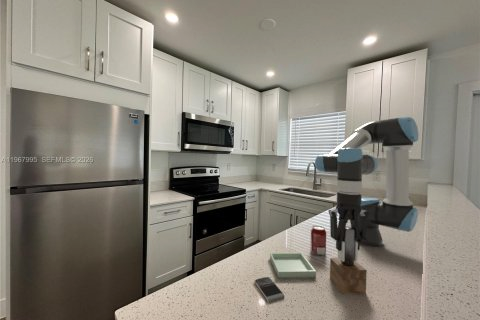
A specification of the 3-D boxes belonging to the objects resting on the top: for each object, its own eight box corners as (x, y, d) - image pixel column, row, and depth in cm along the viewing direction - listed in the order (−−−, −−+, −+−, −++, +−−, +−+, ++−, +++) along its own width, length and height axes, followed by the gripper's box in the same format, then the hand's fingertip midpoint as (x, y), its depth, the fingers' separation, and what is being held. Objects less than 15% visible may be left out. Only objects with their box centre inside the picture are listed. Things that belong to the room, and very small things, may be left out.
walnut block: (350, 279, 72) (351, 257, 72) (365, 294, 64) (366, 270, 64) (329, 279, 72) (330, 257, 72) (342, 294, 64) (343, 270, 64)
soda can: (327, 257, 88) (327, 230, 88) (311, 255, 89) (312, 229, 89) (324, 250, 95) (324, 225, 94) (309, 248, 96) (309, 224, 96)
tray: (301, 258, 86) (301, 252, 86) (315, 277, 72) (316, 271, 72) (270, 258, 86) (270, 253, 86) (278, 278, 71) (278, 271, 71)
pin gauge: (349, 259, 70) (350, 226, 70) (356, 265, 66) (357, 230, 66) (338, 259, 70) (339, 226, 70) (345, 265, 66) (346, 230, 66)
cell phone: (268, 279, 71) (268, 275, 71) (285, 300, 61) (285, 296, 61) (253, 283, 69) (253, 279, 69) (268, 305, 59) (268, 300, 59)
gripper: (364, 190, 72) (363, 253, 72) (320, 190, 71) (318, 254, 71) (380, 194, 64) (379, 264, 65) (330, 194, 63) (329, 265, 64)
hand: (347, 259), depth 68 cm, fingers closed on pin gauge, 4 cm apart
